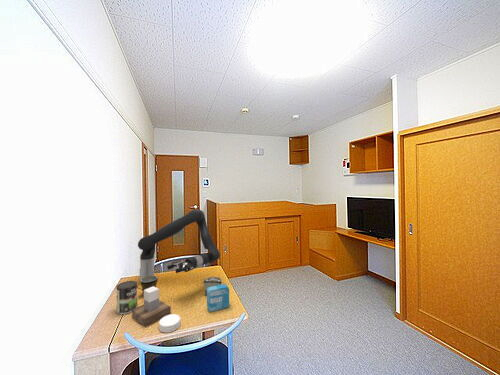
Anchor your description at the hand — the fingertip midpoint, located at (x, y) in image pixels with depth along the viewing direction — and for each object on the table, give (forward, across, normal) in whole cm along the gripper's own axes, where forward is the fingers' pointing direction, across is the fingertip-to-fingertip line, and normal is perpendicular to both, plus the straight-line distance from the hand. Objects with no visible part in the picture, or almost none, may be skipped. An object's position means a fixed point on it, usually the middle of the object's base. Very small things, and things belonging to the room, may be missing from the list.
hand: (171, 269), depth 127 cm
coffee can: (+18, -16, +22) cm, 32 cm away
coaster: (+12, +17, +21) cm, 30 cm away
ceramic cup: (+3, -23, +21) cm, 31 cm away
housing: (+13, +1, +17) cm, 21 cm away
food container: (-24, +11, +20) cm, 33 cm away
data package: (-14, +25, +20) cm, 35 cm away
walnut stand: (+13, +1, +21) cm, 24 cm away
